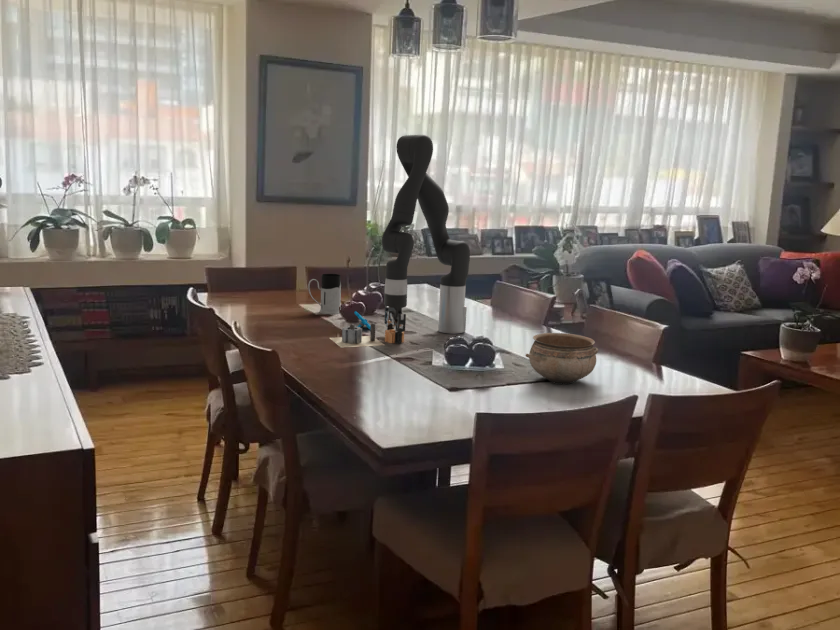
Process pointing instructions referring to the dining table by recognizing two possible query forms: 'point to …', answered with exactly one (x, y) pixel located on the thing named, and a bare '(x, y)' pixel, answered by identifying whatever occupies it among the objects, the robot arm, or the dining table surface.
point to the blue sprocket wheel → (362, 321)
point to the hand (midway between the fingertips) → (394, 340)
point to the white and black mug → (329, 293)
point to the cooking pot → (562, 356)
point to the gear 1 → (352, 335)
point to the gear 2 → (391, 336)
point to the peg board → (365, 339)
